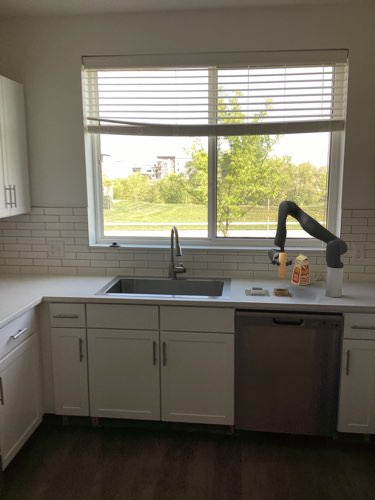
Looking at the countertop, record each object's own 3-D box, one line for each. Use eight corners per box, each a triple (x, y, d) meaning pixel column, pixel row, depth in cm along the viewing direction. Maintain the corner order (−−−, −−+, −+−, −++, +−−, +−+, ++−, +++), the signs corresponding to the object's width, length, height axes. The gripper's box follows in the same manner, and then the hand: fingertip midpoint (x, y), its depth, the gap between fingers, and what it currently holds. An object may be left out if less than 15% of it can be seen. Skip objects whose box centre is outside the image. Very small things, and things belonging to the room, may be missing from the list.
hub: (267, 291, 255) (268, 286, 255) (270, 298, 241) (270, 292, 241) (244, 291, 257) (245, 285, 256) (245, 297, 243) (246, 291, 242)
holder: (288, 293, 250) (288, 288, 250) (291, 298, 241) (291, 292, 240) (271, 293, 251) (272, 287, 251) (273, 297, 242) (273, 292, 241)
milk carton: (290, 282, 279) (292, 253, 276) (301, 281, 283) (303, 252, 279) (299, 285, 271) (301, 255, 267) (311, 284, 274) (312, 254, 271)
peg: (286, 276, 245) (287, 253, 243) (285, 277, 241) (286, 254, 239) (279, 275, 247) (279, 252, 245) (277, 277, 243) (278, 253, 241)
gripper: (268, 253, 257) (271, 257, 240) (291, 253, 256) (296, 258, 239) (267, 265, 258) (270, 270, 241) (291, 265, 257) (295, 270, 240)
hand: (283, 264), depth 240 cm, fingers closed on peg, 4 cm apart
